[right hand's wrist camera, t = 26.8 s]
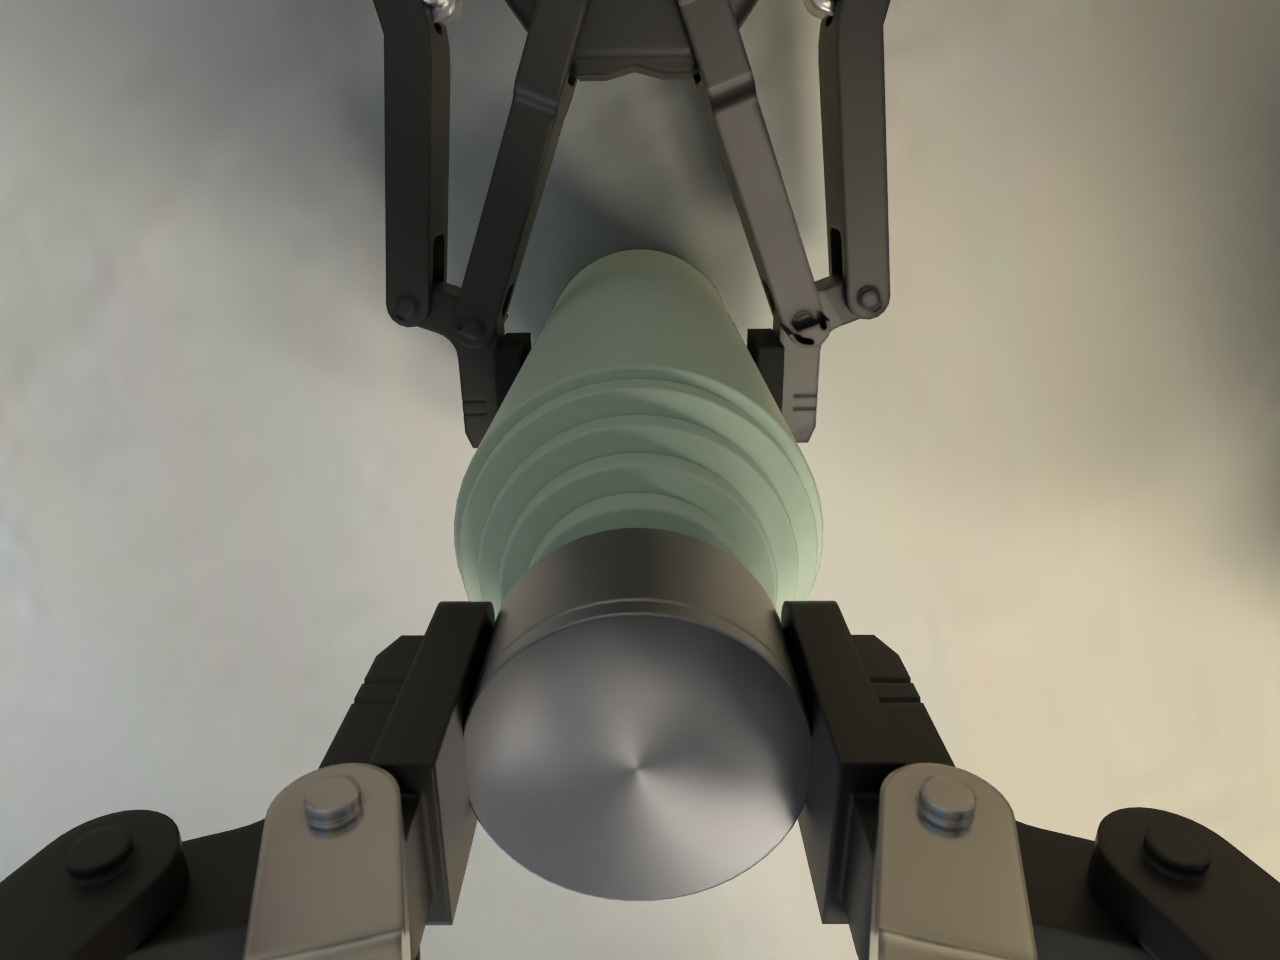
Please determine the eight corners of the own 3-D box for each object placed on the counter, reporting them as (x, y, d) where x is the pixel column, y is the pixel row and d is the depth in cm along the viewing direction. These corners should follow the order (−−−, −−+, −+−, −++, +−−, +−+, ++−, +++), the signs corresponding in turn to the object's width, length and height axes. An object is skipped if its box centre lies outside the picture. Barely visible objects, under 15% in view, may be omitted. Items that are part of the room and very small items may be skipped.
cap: (748, 794, 13) (768, 922, 11) (476, 755, 13) (442, 878, 11) (817, 552, 12) (856, 645, 10) (510, 502, 12) (478, 586, 9)
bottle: (622, 209, 31) (575, 360, 9) (768, 325, 32) (1029, 694, 11) (513, 358, 33) (262, 777, 11) (655, 461, 34) (680, 1008, 13)
